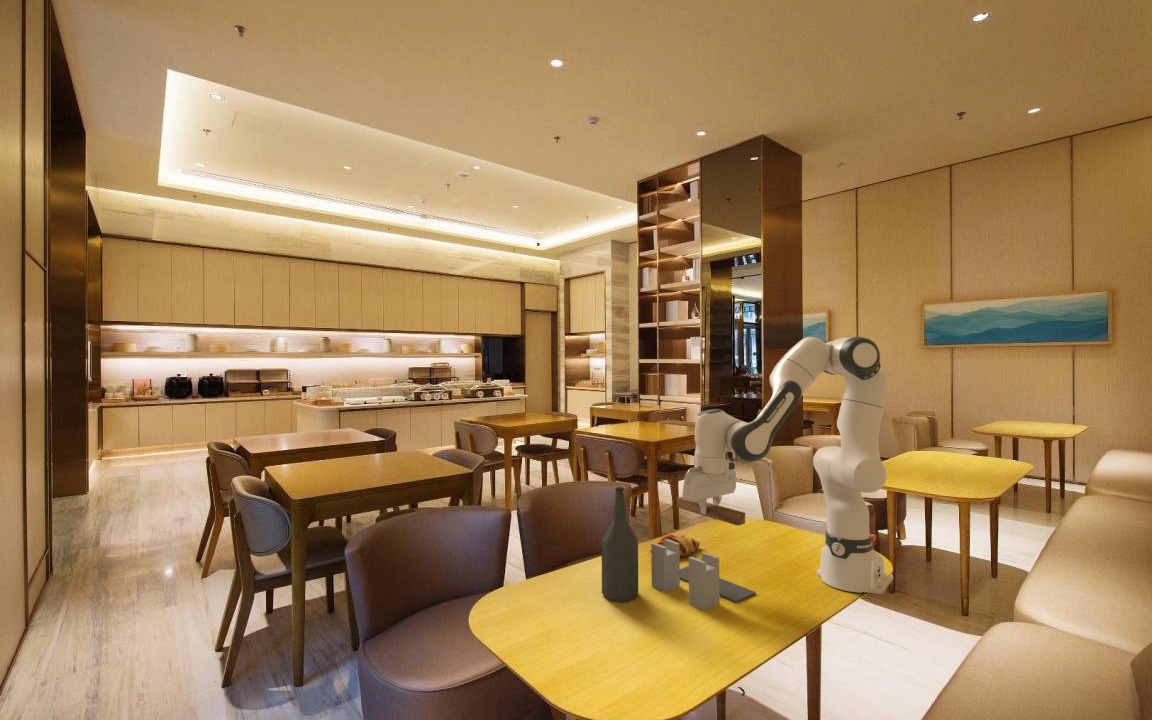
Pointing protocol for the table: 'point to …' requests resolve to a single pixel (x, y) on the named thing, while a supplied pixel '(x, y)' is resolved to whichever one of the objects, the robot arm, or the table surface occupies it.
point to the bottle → (620, 556)
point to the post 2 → (704, 581)
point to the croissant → (682, 543)
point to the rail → (713, 511)
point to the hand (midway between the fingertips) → (709, 512)
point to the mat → (724, 588)
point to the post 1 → (665, 565)
